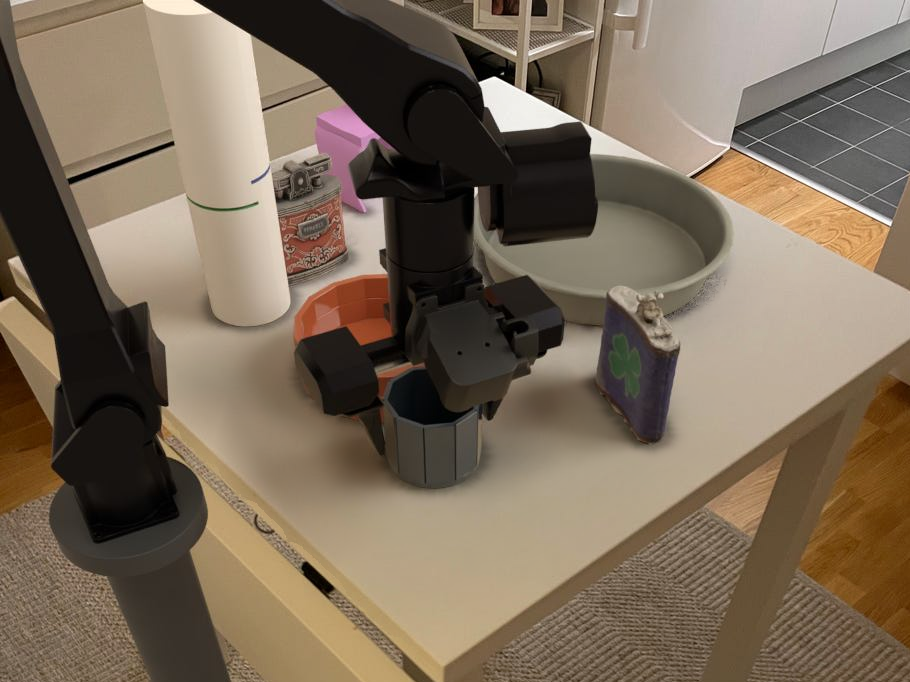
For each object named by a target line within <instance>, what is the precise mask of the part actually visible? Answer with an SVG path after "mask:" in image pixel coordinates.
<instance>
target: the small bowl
mask: <svg viewBox="0 0 910 682" xmlns="http://www.w3.org/2000/svg"><path fill="white" fill-rule="evenodd" d="M382 403H383V404H384V407H383V417H384V422H383V431H384V439H385V455H386V459H387V460H388V464H389V466H390V468H391V470H392V471H393V473H394V474H395V475H396V476H397V477H398V478H399V479H401V480H402V481H404V482H406V483H407V484H410V485H413V486H416V487H419V488H426V489H442V488H448V487H451V486H455V485H458V484H460V483H462V482H464V481H465V480H467V479H469V477H471V476H472V475H473V474H474V473H475V471H476V470H477V468H478V466H479V463H480V459H481V452H482V447H483V446H482V444H483V441H482V440H483V439H482V438H483V437H482V436H483V414H482V404H480V405H476V406H473V407H471V408H469V409H468V410H466V411H462V412H453V411H450V410H448V409H447V408H446V407H445V406H444V405H443V403H442V401H441V399H440V396H439V393H438V391H437V389H436V387H435V385H434V383H433V381H432V379H431V377H430V375H429V373H428V372H427V370H426V367H425V366H418V367H412V368H409V369H407V370H406V371H404V372H402V373H400V374H399V375H397V376H395V377H394V378H392V379H390V380H389V381H388V384H387V387H386V390H385V393H384V396H383V399H382Z"/></svg>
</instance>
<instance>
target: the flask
mask: <svg viewBox="0 0 910 682" xmlns="http://www.w3.org/2000/svg"><path fill="white" fill-rule="evenodd" d="M654 293H655V294H657V293H658V294H657V295H658V298H660V299H663V297H664V296H663V293H660V292H657V291H656V290H655V291H654ZM656 303H657V298H656V296H655V295H653V294H652V293H648V294H645V295H641V294H638V293H637V292H635V291H634V290H633V289H631V288H629V287H626V286H615V287H613V288H611V289H610V290H609V291H608V292H607V294H606V309H605V315H604V324H603V325H602V326H603V327H602V333H601V337H600V338H601V340H600V348H599V355H598V359H597V366H596V373H595V378H594V383H595V385H596V389H597V390H598V392H599V394H600V395H601V396H604V397H605V398H606V399H607V401H608V403H609V405H610V407H611V408H612V410H614V412H615V413H617V414H619V415H621V416H622V417H623V418H624V419H623V422H625V423H627V424H628V425H629V427H630V429H629V430H630V431H631V432H633V435H634V436H635V437H636V439H637V440H638V441H640V442H642V443H643V442H644V443H645V444H648V445H649V446H651V445H652V444H658V443H660V442H661V441H662V440H664V438H665V431H666V424H667V418H668V414H669V409H670V404H671V403H670V402H671V396H672V390H673V387H674V379H675V376H676V369H677V365H678V359H679V355H680V353H681V340H680V339H679V337H678V336H677V334H676V332H675V330H674V329H673V327H672V325H671V324H670V322H668V319H667V318H666V316H665V317H664V316H663V313H662V310H661V309H660V308H659V307H658V305H657V304H656Z"/></svg>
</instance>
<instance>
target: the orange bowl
mask: <svg viewBox="0 0 910 682" xmlns="http://www.w3.org/2000/svg"><path fill="white" fill-rule="evenodd" d="M388 302H389V292H388V277H387V273H376V274H375V273H374V274H361V275H356V276H352V277H350V278H345V279H341V280H338V281H334V282H332V283H329V284H328V285H326V286H325V287H323V288H321V289H320V290H318V291H316V292H314V293H313V294H311V295H310V296H308V297H307V299H306V300H305V301H304V303H303V304H302V305H301V307H300V308H299V309H298V310H297V312H296V313H295V315H294V318H293V343H294V349H295V348H296V346H297V344H298V342H299V341H300V340H301V339H303V338H306V337H310V336H313V335H317V334H320V333H324V332H327V331H331V330H334V329H338V328H341V327H345V326H347V327H348V329H349V330H350V332H351V333H352V334H353V336H354V337H355V338H356V340H357V341H358V343H359V344H360V345H364V344H367V343H371V342H374V341H378V340H381V339H384V338H388V337H391V325H390V324H389V323H388V322H387V320H386V319H385V318H384V314H383V304H385V303H388ZM418 366H425V365H424V363H422V364H418V365H415V366H413V365H410V366H406V367H403V368H400V369H396V370H393V371H390V372H387V373H383V374H380V375H377V377H378V381H379V394H378V397H379V398H380V400H381V401H382V399H383V396H384V393H385V390H386V387H387V384H388V381H389V380H390V379H392V378H394V377H395V376H397V375H399V374H400V373H402V372H404V371H406V370H407V369H409V368H412V367H418ZM299 378H300V379H301V377H300V376H299ZM301 383H302V385H303V387H304V389H305V392H307V393H308V394H307V395H309V396H310V397H311V399H312V400H314V401H315V399H314V398H313V396H312V394H311V393H310V391H309V390H308V388H307V387H306V385H305V384H304V382H303V381H302V380H301ZM339 416H340V417H343V418H345V417H344V416H342V415H341V414H340V415H339ZM380 416H381V422H382V423H384V417H383V408H381V409H380ZM346 418H347V419H350V420H355V421H359V419H358V417H357V416H354V417H350V418H348V417H346Z"/></svg>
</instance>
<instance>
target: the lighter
mask: <svg viewBox="0 0 910 682" xmlns="http://www.w3.org/2000/svg"><path fill="white" fill-rule="evenodd" d="M331 170H332V162H331V157H330V156H329V155H328V154H326V153H322V154H319V153H318V154H315V155H313V156H311V157H308V158H306V159H303V161H302V162H298V163H297V162H296V161H294V160H292V159H290V160H286V161H285V163H284V164H283V166H282V168H281V169H279V170H276V171H273V172H271V174H272V180H273V187H274V194H275V200H276V207H277V214H278V220H279V227H280V234H281V240H282V247H283V254H284V260H285V267H286V273H287V280H288V286H294V285H297V284H300V283H303V282H308V281H311V280H312V279H315V278H319V277H321V276H323V275H326V274H327V273H330V272H331V271H334V270H335V269H337V268H339V267H340V266H342V265H344V264H345V263H347V262H348V261H349V257H350V256H349V248H348V246H347V245H346V235H345V226H344V216H343V206H342V201H341V192H342V183H341V179H340V178H339V177H337V176H334V175H329V174H325V175H322V174H324V173H327V172H329V171H331Z"/></svg>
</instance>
